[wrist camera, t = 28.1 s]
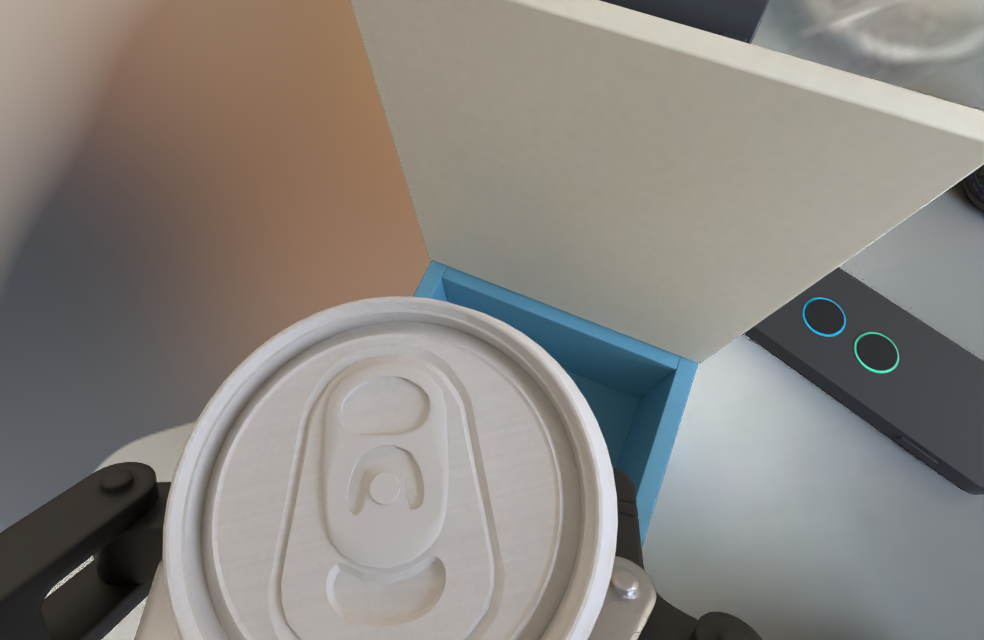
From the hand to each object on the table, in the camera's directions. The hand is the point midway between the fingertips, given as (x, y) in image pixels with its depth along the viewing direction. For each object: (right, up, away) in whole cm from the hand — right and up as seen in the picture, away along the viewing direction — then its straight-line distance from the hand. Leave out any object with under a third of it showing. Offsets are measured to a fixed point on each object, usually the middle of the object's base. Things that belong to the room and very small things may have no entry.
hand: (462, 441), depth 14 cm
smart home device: (+27, 0, +23) cm, 36 cm away
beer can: (0, -4, +6) cm, 8 cm away
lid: (+4, +7, +6) cm, 10 cm away
